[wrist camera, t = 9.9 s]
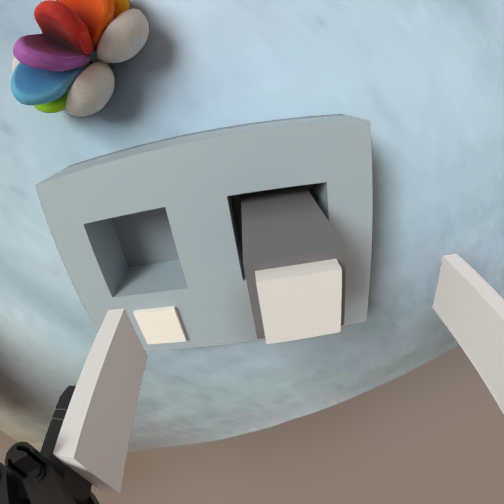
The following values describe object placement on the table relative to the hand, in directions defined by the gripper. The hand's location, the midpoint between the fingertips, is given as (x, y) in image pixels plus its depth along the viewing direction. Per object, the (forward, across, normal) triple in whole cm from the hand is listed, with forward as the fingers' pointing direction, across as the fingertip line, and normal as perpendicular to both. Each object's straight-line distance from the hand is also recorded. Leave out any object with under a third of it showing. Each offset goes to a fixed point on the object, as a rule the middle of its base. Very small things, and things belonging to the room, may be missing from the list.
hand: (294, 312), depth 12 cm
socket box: (+12, -4, -1) cm, 13 cm away
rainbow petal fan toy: (+13, -10, +14) cm, 22 cm away
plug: (+11, +1, 0) cm, 11 cm away
